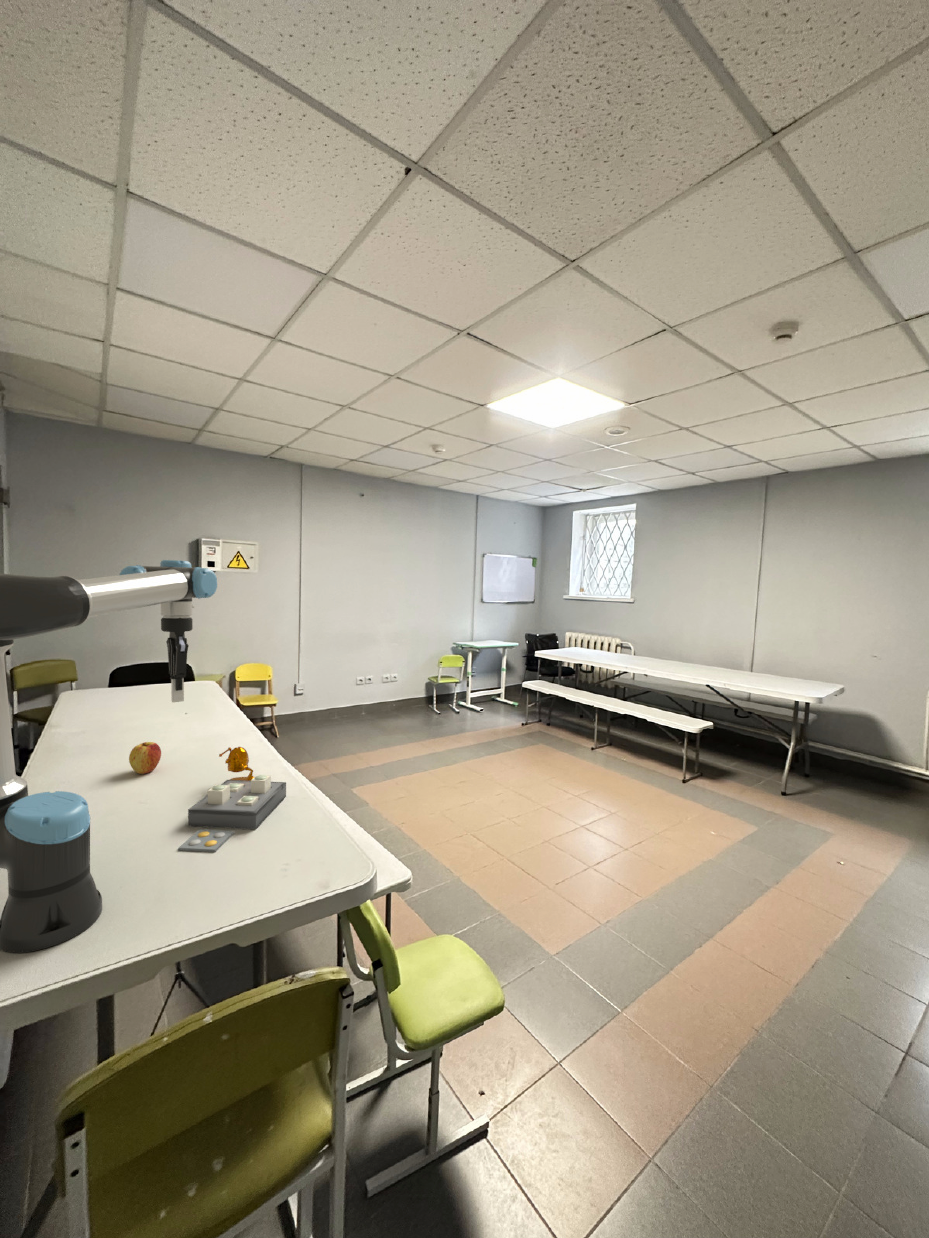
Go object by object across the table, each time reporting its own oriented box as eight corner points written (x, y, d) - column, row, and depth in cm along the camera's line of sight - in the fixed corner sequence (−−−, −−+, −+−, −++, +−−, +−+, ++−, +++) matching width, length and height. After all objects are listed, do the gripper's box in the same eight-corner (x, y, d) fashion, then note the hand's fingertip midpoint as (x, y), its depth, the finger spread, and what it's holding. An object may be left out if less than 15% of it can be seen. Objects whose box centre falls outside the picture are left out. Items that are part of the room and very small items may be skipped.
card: (215, 851, 118) (215, 848, 118) (178, 850, 119) (178, 846, 119) (234, 833, 127) (234, 830, 127) (199, 831, 128) (199, 828, 128)
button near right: (251, 817, 134) (251, 801, 133) (237, 816, 134) (237, 801, 134) (258, 810, 138) (258, 795, 137) (244, 810, 138) (244, 794, 138)
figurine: (218, 783, 158) (218, 746, 157) (253, 775, 165) (253, 740, 164) (225, 792, 152) (225, 753, 151) (261, 784, 158) (262, 747, 158)
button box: (255, 829, 130) (255, 812, 129) (188, 826, 130) (188, 809, 130) (286, 796, 150) (286, 782, 149) (227, 794, 150) (227, 779, 150)
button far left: (237, 803, 142) (237, 788, 142) (223, 802, 142) (223, 787, 142) (243, 797, 146) (243, 782, 146) (230, 796, 146) (230, 782, 146)
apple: (158, 775, 163) (157, 745, 162) (125, 778, 160) (125, 748, 159) (163, 765, 171) (163, 737, 171) (132, 768, 168) (132, 739, 167)
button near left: (222, 806, 134) (222, 790, 134) (207, 805, 134) (207, 789, 134) (229, 799, 138) (229, 784, 138) (215, 799, 138) (215, 783, 138)
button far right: (264, 794, 142) (264, 779, 141) (250, 794, 142) (250, 779, 141) (270, 789, 146) (270, 774, 145) (257, 788, 146) (257, 774, 145)
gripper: (198, 618, 135) (199, 703, 136) (185, 614, 144) (186, 695, 146) (167, 618, 130) (168, 707, 131) (155, 615, 139) (156, 698, 141)
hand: (177, 701), depth 138 cm, fingers closed
